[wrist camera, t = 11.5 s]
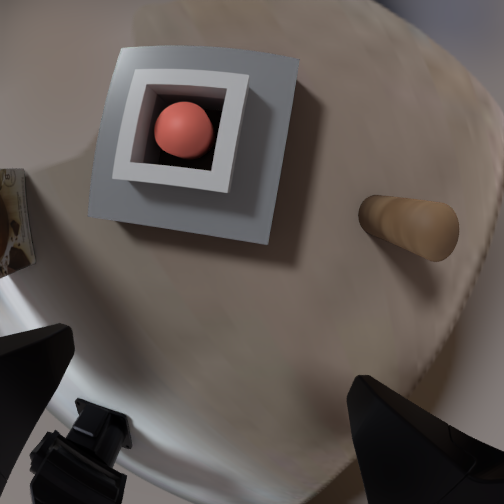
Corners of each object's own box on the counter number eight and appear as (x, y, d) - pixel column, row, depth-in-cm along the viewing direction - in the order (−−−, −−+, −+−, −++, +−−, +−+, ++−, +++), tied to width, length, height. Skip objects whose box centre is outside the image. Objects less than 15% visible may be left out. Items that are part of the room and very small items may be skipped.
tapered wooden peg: (388, 238, 20) (451, 265, 12) (354, 230, 20) (411, 256, 12) (396, 200, 19) (463, 210, 11) (362, 190, 19) (423, 196, 11)
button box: (264, 236, 20) (270, 252, 15) (107, 212, 19) (71, 220, 14) (292, 75, 17) (305, 45, 12) (136, 63, 17) (109, 36, 12)
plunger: (210, 162, 18) (203, 158, 15) (164, 157, 17) (149, 152, 15) (219, 116, 17) (213, 104, 14) (173, 112, 17) (160, 100, 14)
